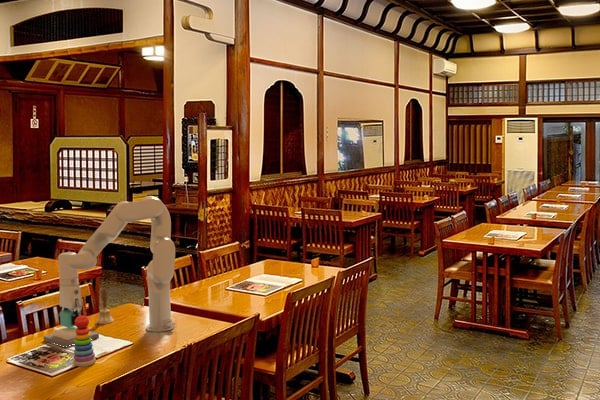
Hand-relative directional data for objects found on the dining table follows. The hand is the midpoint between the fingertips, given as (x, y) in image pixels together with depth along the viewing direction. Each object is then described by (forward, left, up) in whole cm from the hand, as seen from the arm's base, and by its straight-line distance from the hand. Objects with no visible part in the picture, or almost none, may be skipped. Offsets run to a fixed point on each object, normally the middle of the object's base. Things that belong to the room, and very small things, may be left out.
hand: (70, 322), depth 261 cm
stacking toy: (-30, +14, -8) cm, 34 cm away
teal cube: (0, 0, -1) cm, 1 cm away
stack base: (0, 0, -7) cm, 7 cm away
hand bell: (+12, -25, -8) cm, 28 cm away
